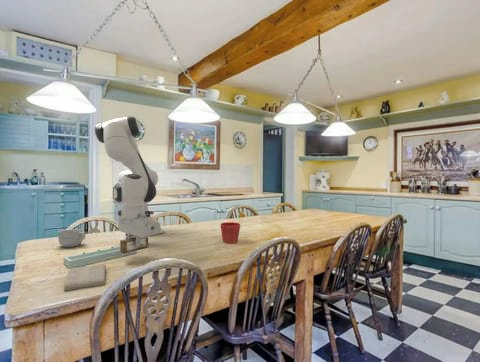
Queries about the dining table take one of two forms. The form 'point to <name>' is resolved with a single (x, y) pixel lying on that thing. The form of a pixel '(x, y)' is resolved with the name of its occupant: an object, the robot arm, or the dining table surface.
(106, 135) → the robot arm
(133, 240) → the wooden block
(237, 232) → the flower pot
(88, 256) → the ledge
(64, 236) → the teacup
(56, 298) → the dining table surface
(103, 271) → the washcloth
